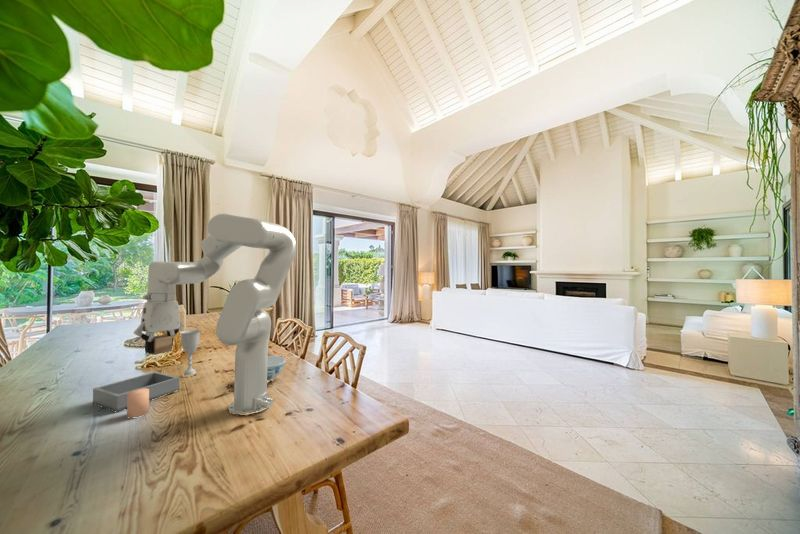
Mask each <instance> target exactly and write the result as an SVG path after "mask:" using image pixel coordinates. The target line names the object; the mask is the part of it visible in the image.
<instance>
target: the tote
mask: <svg viewBox="0 0 800 534" xmlns="http://www.w3.org/2000/svg"><path fill="white" fill-rule="evenodd" d="M143 388H147V389H149V400H152V399H155V398H158V397H160V396H163V395H165V394H168V393H171V392H174V391H176V390H179V391H180V376H176V375H172V374H167V373H164V372H159V371H153V372H149V373H146V374H145V373H144V374H141V375H138V376H135V377H131V378H127V379H123V380H119V381H116V382H111V383H108V384H104V385H101V386H97V387H94V388H93V389H92V404H93V405H94V404H96V405H95V406H97V405H99V406H98V407H100V406H102V407H104V408H103V409H105V408H107V409H106V410H108V409H110V410H109V411H111V410H113V411H116V412H118V413H120V412H119V411H121V412H123V411H122V410H124V409H126V410H127V394H128V392H130V391H133V390H136V389H143ZM158 399H159V398H158ZM155 400H156V399H155ZM102 407H101V408H102ZM113 411H112V412H113ZM124 411H125V410H124ZM116 412H115V413H116Z"/></svg>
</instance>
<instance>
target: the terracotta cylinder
mask: <svg viewBox="0 0 800 534" xmlns="http://www.w3.org/2000/svg"><path fill="white" fill-rule="evenodd" d="M149 406H150V402H149V389H147V388H143V389H136V390H133V391H130V392H128V394H127V409H126V418H127V417H129V418H133V417H139V416H142V415H145V414H147V413H148V412H149V411H150V407H149ZM149 413H150V412H149ZM149 413H148V414H149ZM148 414H147V415H148ZM145 416H146V415H145Z"/></svg>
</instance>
